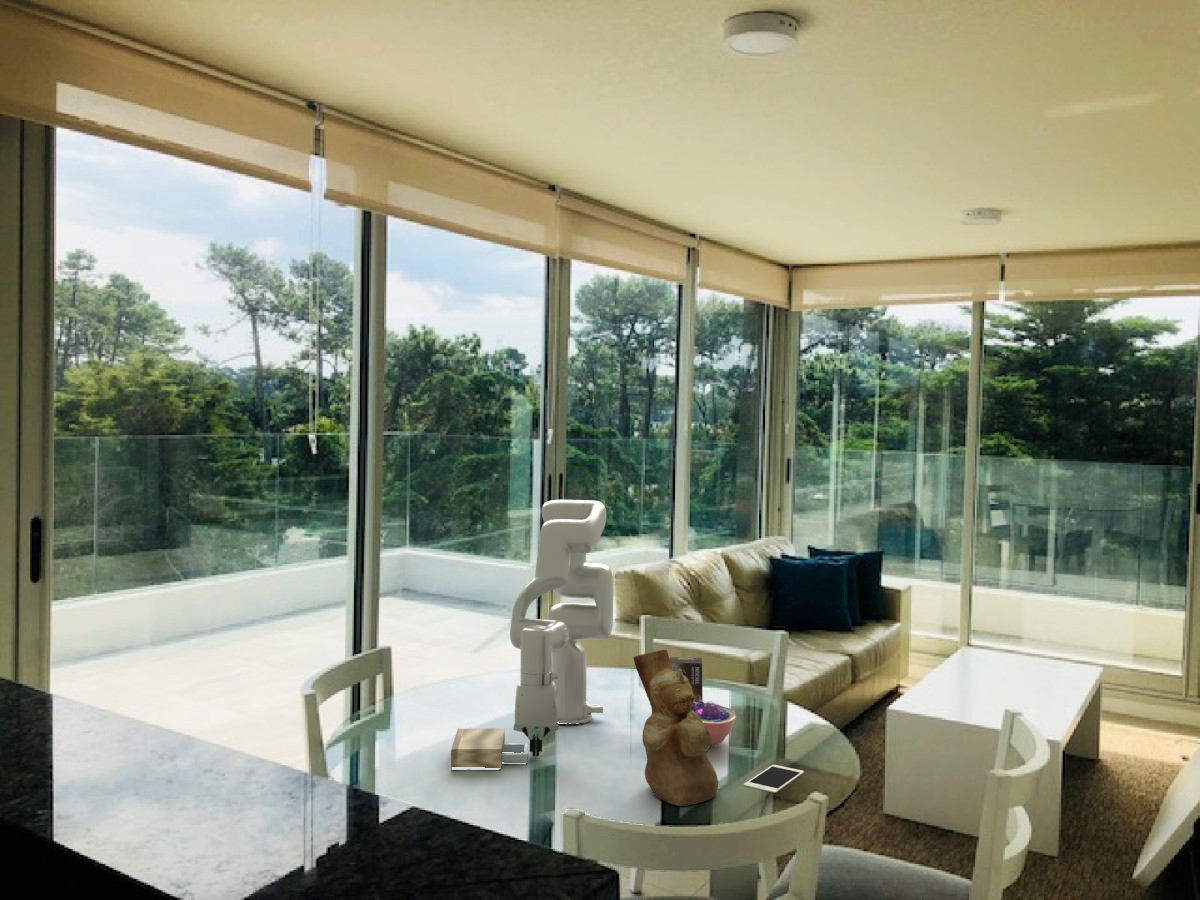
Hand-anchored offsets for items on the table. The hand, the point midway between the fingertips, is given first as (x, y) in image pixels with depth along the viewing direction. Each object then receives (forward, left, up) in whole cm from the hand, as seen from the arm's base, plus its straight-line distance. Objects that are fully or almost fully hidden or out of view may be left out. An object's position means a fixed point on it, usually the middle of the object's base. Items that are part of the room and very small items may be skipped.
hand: (535, 754), depth 234 cm
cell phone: (-54, +15, -2) cm, 56 cm away
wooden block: (+14, 0, -1) cm, 14 cm away
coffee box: (-40, -32, -1) cm, 51 cm away
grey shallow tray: (+9, 0, -1) cm, 9 cm away
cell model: (-40, -10, -1) cm, 41 cm away
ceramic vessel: (-30, +21, -1) cm, 37 cm away
